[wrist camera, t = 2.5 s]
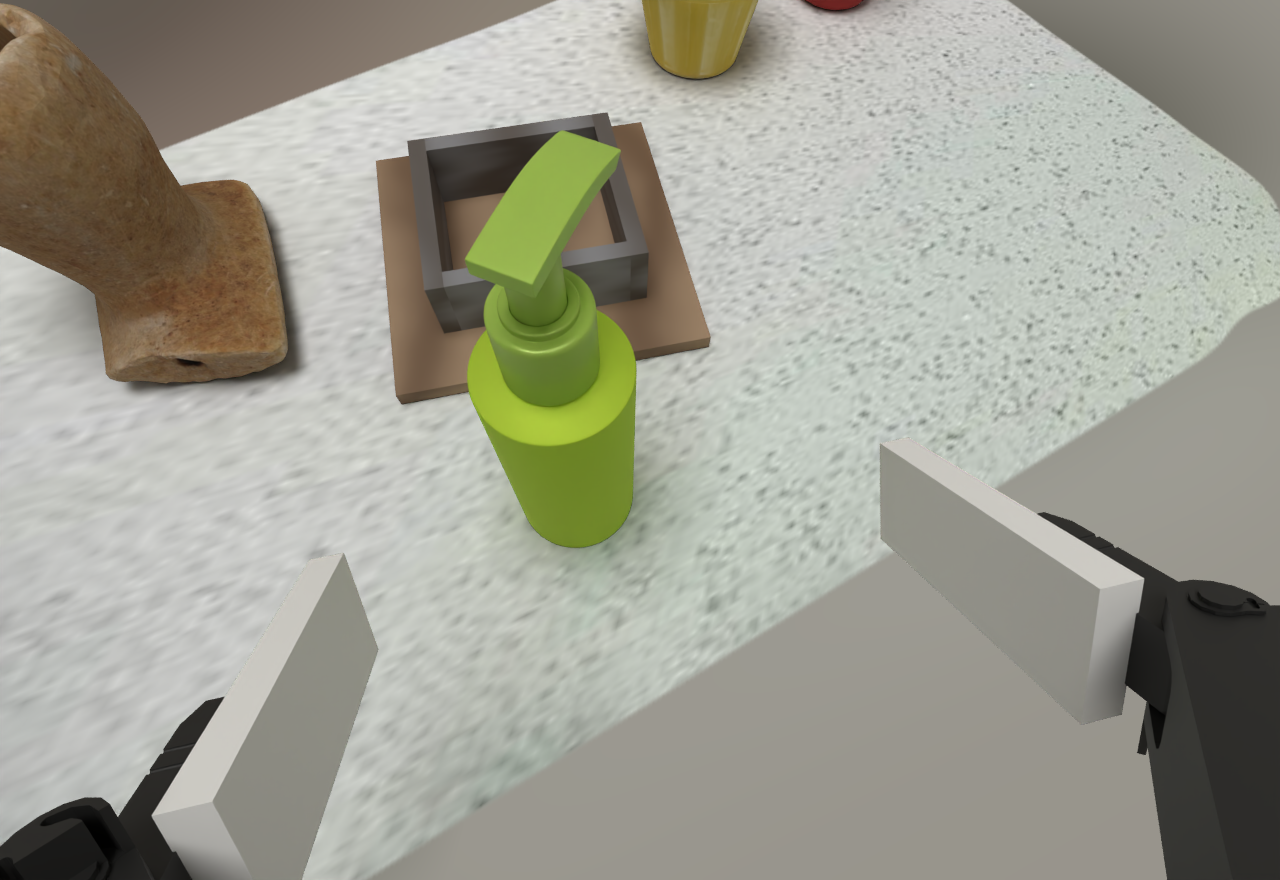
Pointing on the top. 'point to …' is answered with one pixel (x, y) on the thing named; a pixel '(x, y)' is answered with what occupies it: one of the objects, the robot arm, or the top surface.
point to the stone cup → (130, 220)
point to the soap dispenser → (554, 353)
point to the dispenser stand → (597, 252)
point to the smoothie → (835, 4)
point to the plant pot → (696, 34)
